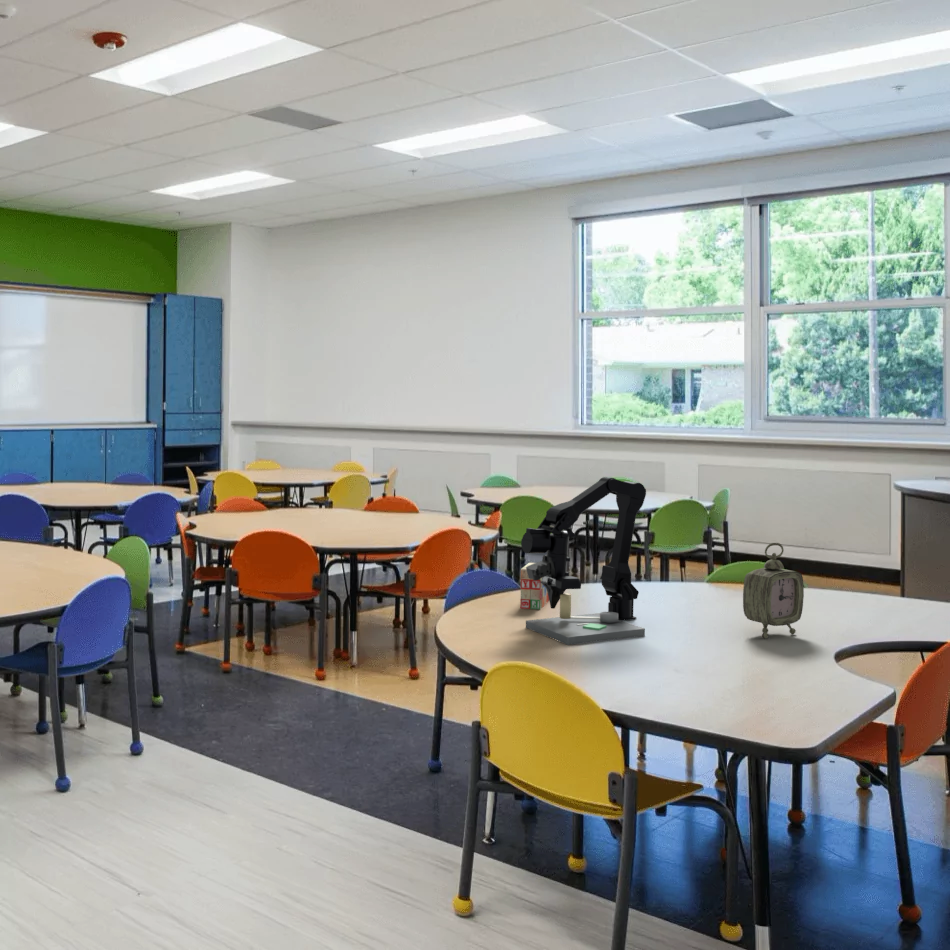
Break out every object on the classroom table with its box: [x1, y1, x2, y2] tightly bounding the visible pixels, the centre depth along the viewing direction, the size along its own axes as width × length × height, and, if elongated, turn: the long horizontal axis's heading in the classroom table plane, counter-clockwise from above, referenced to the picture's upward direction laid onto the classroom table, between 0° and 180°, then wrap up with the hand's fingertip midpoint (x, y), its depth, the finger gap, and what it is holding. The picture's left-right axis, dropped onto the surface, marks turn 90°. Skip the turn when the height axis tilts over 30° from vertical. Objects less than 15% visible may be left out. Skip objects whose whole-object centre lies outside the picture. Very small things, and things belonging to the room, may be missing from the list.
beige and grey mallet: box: [559, 592, 618, 623], centre depth 281 cm, size 16×5×7 cm, turn 87°
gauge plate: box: [525, 612, 646, 646], centre depth 277 cm, size 24×22×2 cm
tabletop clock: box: [742, 542, 805, 640], centre depth 274 cm, size 14×9×25 cm, turn 122°
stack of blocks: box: [519, 562, 550, 610], centre depth 317 cm, size 21×6×12 cm, turn 165°
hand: (552, 608), depth 284 cm, fingers closed
